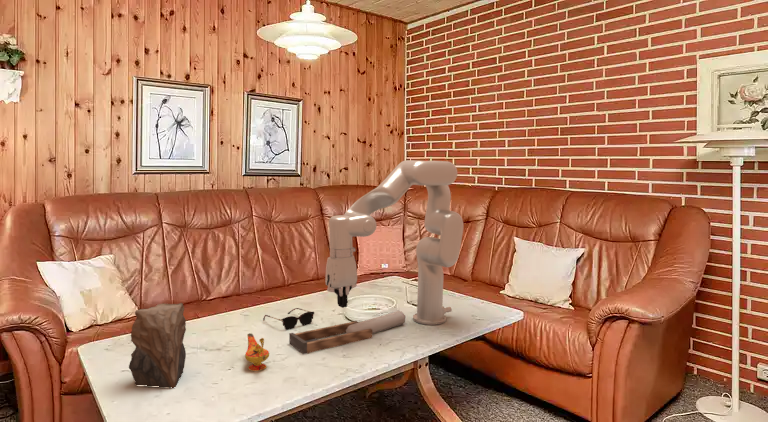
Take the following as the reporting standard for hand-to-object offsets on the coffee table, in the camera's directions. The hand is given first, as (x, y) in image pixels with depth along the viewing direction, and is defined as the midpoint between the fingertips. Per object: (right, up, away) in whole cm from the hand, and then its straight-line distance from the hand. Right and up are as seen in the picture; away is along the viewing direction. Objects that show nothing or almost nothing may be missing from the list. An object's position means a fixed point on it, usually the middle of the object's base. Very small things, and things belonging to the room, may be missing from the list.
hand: (342, 306), depth 170 cm
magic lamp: (-24, -14, -21) cm, 35 cm away
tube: (+11, -11, +9) cm, 18 cm away
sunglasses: (-22, -10, +18) cm, 30 cm away
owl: (-46, -14, -32) cm, 58 cm away
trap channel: (-4, -11, -1) cm, 12 cm away
